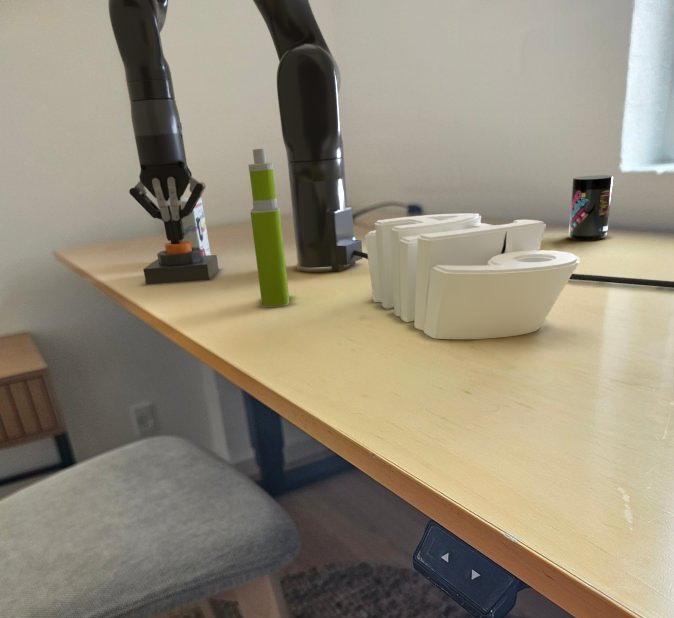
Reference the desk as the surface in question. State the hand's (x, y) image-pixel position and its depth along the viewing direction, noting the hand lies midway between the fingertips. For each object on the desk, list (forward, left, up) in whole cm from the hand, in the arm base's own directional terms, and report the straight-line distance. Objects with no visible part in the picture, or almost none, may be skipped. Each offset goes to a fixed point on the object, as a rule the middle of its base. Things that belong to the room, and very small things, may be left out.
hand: (177, 243), depth 113 cm
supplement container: (-59, -45, -6) cm, 75 cm away
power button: (0, 0, -2) cm, 2 cm away
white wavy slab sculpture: (-54, +8, -6) cm, 55 cm away
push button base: (0, 0, -6) cm, 6 cm away
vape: (-28, +11, -6) cm, 31 cm away
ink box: (+8, -12, -6) cm, 15 cm away
